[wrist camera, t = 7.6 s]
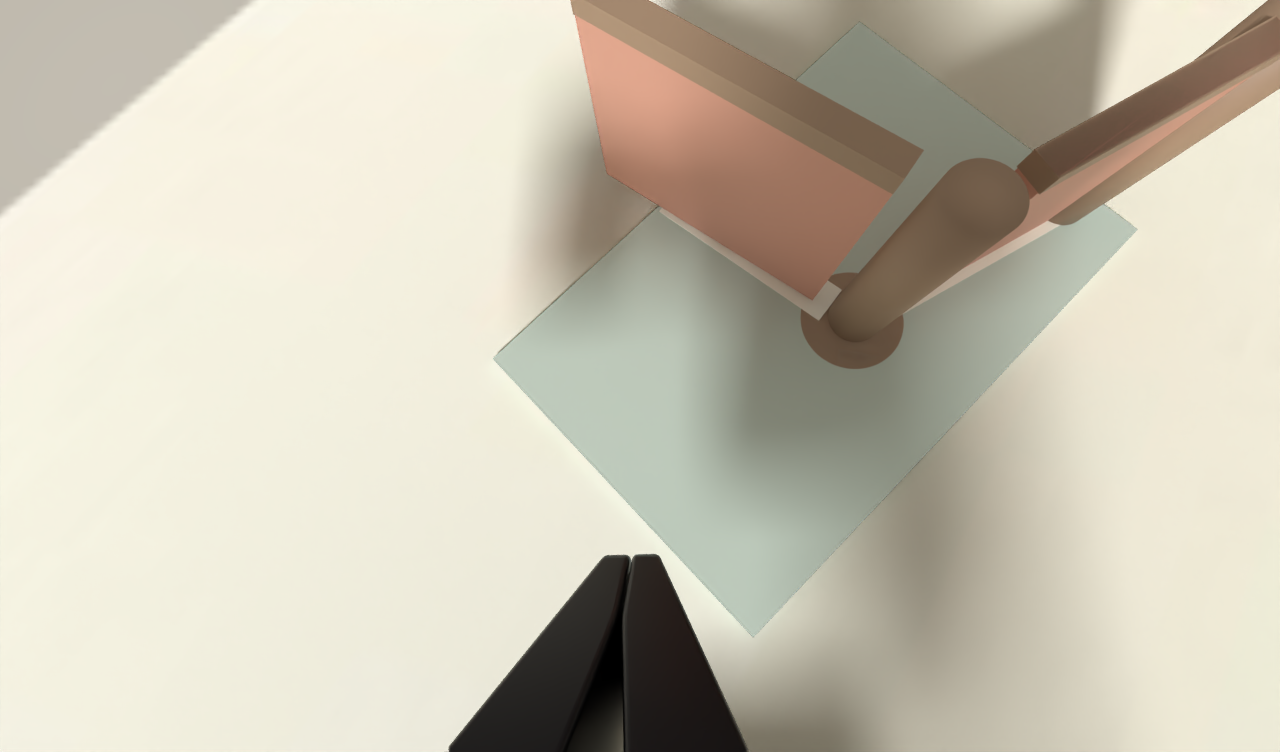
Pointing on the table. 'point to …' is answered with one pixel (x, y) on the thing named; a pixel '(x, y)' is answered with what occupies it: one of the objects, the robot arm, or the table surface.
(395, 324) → the table surface
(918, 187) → the mat
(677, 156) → the swing panel
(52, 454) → the table surface
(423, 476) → the table surface
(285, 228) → the table surface
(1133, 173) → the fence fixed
